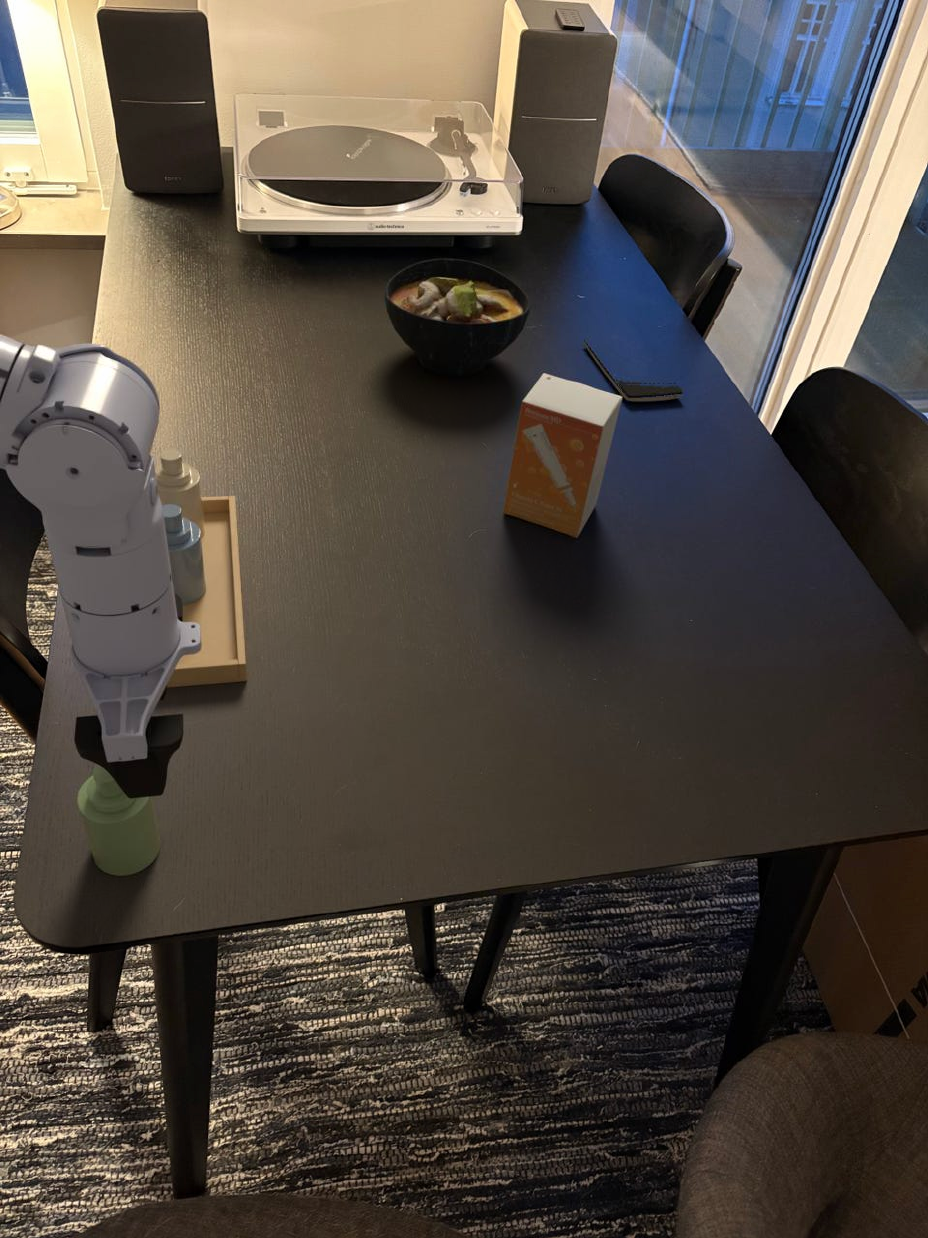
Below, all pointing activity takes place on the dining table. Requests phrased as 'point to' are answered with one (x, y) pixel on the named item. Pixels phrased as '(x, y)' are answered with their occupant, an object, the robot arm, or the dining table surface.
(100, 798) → the sage bottle
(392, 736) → the dining table surface
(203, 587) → the blue bottle
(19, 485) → the robot arm
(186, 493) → the cream bottle
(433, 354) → the bowl
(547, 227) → the dining table surface
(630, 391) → the laptop
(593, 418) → the small box
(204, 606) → the tray
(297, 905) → the dining table surface
